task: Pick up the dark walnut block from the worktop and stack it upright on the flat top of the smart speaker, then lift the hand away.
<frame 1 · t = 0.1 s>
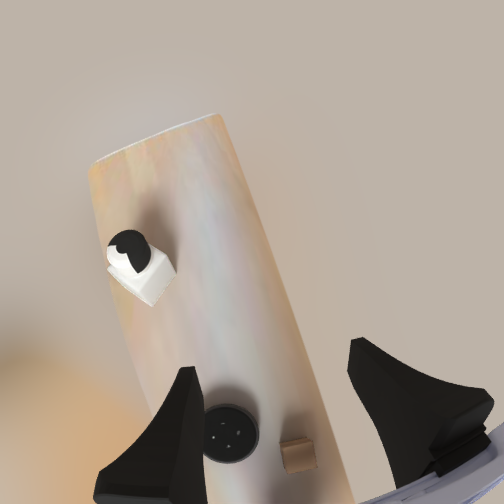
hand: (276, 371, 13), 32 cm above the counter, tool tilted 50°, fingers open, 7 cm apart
walnut block: (295, 452, 37), on the counter
medicine bottle: (149, 280, 49), on the counter
smart speaker: (228, 431, 38), on the counter
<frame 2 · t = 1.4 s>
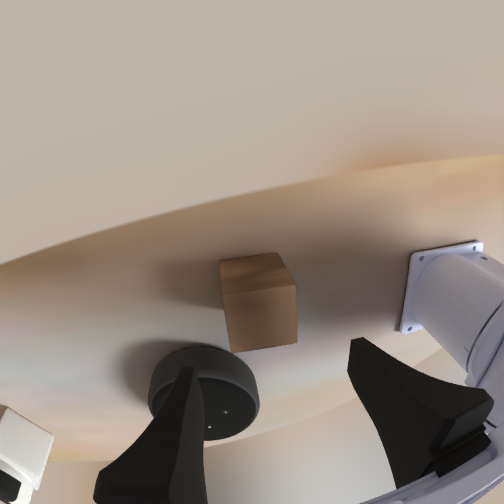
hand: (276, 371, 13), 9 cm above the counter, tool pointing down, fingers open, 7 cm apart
walnut block: (251, 282, 21), on the counter
medicine bottle: (29, 430, 26), on the counter
smart speaker: (203, 379, 25), on the counter
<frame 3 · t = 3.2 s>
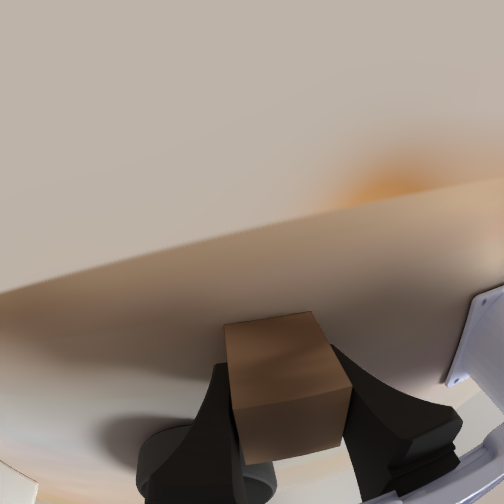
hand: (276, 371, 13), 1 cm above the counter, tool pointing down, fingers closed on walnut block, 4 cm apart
walnut block: (270, 352, 14), on the counter, touching gripper
medicine bottle: (12, 473, 18), on the counter
smart speaker: (204, 451, 17), on the counter
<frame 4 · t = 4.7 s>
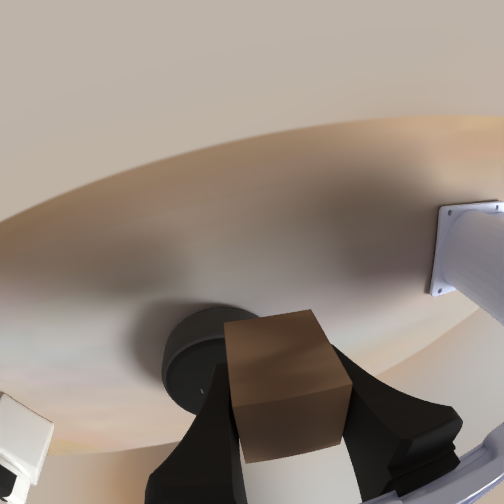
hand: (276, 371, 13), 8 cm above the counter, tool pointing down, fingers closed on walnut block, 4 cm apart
walnut block: (270, 350, 14), point 7 cm above the counter, touching gripper
medicine bottle: (27, 419, 24), on the counter
smart speaker: (223, 349, 23), on the counter
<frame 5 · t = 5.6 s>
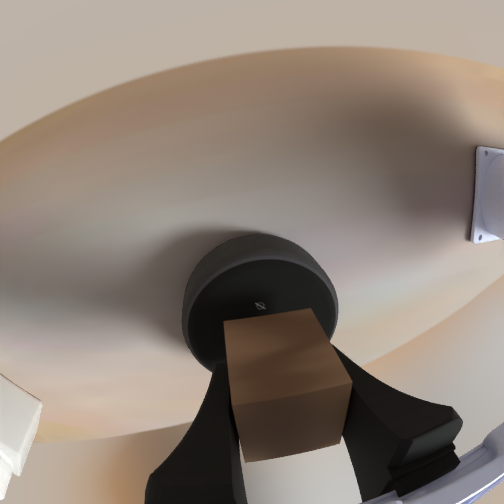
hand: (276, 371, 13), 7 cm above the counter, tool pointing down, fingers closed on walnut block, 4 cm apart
walnut block: (270, 349, 14), point 5 cm above the counter, touching gripper
medicine bottle: (12, 398, 21), on the counter
smart speaker: (254, 295, 20), on the counter
when the fingers open (7 cm above the counter, at t = 6.2 s): walnut block drops 2 cm, resting on smart speaker.
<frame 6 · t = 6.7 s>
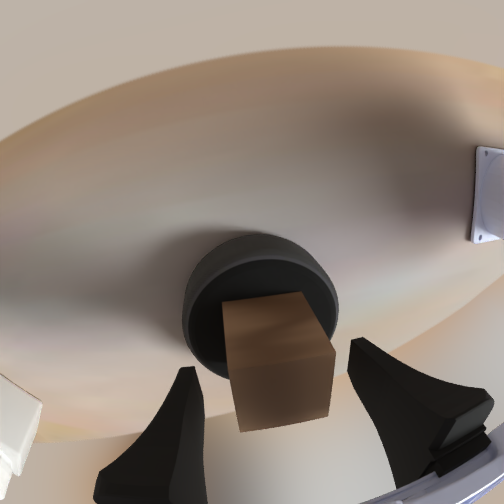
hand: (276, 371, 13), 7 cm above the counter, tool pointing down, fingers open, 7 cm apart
walnut block: (264, 329, 16), point 4 cm above the counter, touching smart speaker
medicine bottle: (12, 398, 21), on the counter
smart speaker: (254, 295, 20), on the counter, touching walnut block
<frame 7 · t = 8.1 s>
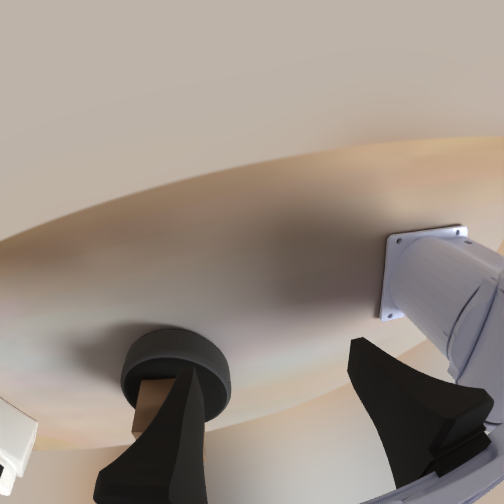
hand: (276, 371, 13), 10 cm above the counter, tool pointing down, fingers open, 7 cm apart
walnut block: (173, 396, 21), point 4 cm above the counter, touching smart speaker
medicine bottle: (15, 417, 25), on the counter
smart speaker: (177, 364, 25), on the counter, touching walnut block
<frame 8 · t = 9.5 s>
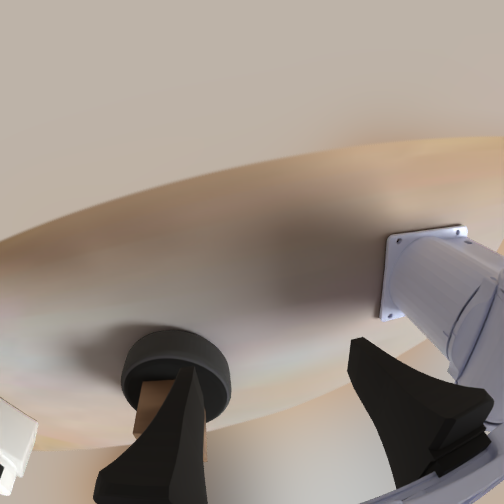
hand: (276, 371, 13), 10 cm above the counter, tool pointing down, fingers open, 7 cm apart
walnut block: (175, 397, 21), point 4 cm above the counter, touching smart speaker
medicine bottle: (15, 417, 26), on the counter
smart speaker: (177, 364, 25), on the counter, touching walnut block
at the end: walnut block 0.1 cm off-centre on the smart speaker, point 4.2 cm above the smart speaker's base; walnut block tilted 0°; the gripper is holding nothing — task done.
